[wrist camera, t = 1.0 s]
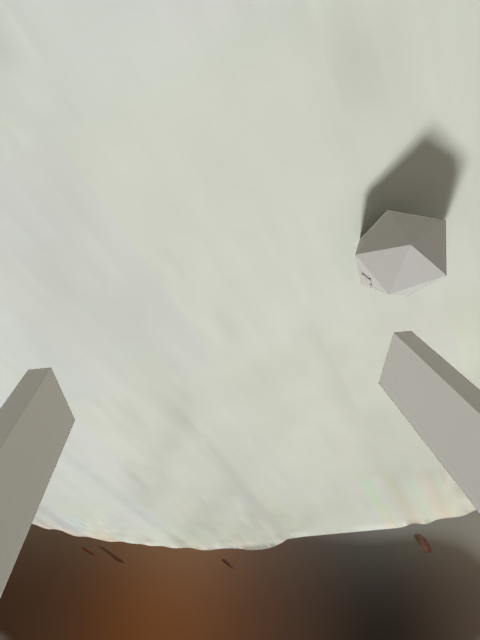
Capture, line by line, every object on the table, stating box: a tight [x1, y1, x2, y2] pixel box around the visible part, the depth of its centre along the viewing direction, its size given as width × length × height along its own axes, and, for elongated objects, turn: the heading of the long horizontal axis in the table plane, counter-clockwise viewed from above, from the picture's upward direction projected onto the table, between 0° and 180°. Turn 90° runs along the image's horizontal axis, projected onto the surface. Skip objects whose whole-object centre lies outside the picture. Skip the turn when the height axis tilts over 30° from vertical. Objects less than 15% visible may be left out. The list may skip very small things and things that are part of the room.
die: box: [355, 210, 446, 296], centre depth 30 cm, size 8×9×10 cm
